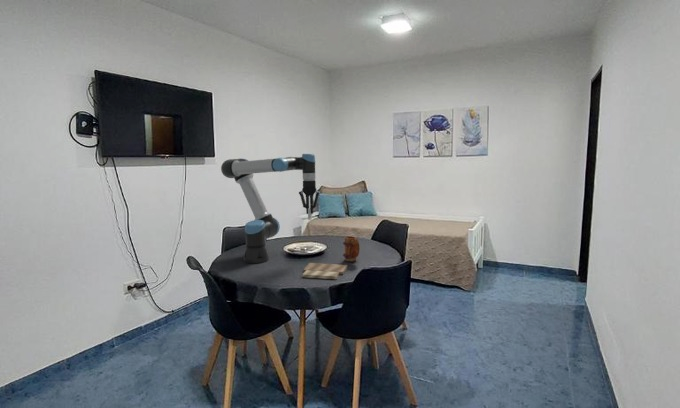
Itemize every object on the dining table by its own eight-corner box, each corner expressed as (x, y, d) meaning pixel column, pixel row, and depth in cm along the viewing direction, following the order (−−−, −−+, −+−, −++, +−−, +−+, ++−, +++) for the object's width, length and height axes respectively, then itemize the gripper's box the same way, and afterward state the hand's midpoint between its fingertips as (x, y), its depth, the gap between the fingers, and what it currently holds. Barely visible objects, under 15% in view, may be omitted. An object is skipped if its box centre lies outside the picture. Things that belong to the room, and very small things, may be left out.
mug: (341, 259, 225) (340, 235, 223) (353, 257, 228) (353, 233, 226) (351, 266, 212) (351, 240, 209) (364, 264, 215) (364, 238, 213)
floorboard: (303, 272, 202) (303, 269, 202) (309, 265, 214) (309, 262, 214) (343, 274, 198) (343, 272, 197) (347, 267, 209) (347, 264, 209)
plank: (302, 277, 194) (302, 274, 194) (306, 272, 201) (306, 270, 201) (336, 279, 190) (336, 276, 190) (339, 274, 198) (339, 272, 198)
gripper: (296, 180, 217) (297, 220, 221) (318, 180, 215) (318, 220, 218) (300, 179, 225) (301, 217, 228) (321, 179, 222) (322, 218, 226)
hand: (310, 219), depth 223 cm, fingers closed
